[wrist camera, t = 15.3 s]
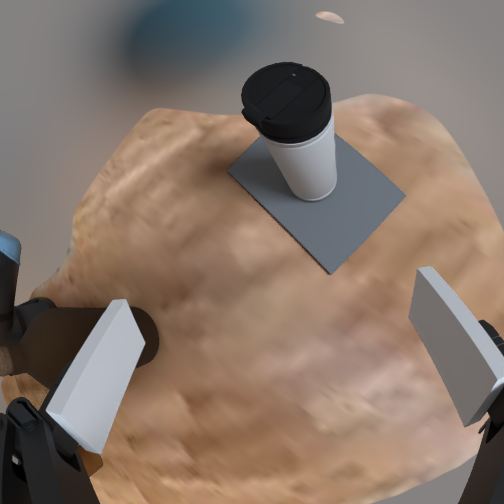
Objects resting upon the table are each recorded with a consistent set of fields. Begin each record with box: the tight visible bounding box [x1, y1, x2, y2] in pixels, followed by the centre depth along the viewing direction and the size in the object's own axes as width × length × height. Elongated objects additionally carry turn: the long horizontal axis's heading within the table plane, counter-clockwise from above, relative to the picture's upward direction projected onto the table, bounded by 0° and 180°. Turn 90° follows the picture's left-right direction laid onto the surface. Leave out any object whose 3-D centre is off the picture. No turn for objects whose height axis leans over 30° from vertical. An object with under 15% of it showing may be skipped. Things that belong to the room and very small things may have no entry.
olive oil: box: [0, 307, 159, 389], centre depth 30 cm, size 11×11×25 cm
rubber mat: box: [227, 134, 406, 275], centre depth 36 cm, size 20×14×1 cm
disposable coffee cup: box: [76, 446, 103, 477], centre depth 38 cm, size 10×10×12 cm
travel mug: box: [241, 62, 337, 203], centre depth 27 cm, size 6×7×20 cm
